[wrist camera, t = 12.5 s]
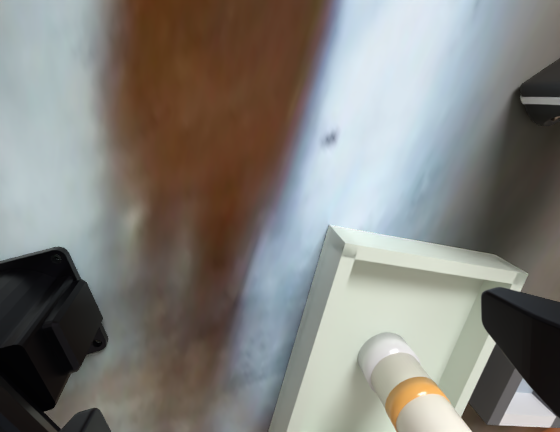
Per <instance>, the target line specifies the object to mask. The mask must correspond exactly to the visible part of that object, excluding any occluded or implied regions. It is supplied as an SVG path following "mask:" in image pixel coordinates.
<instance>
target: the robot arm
mask: <svg viewBox="0 0 560 432" xmlns="http://www.w3.org/2000/svg"><path fill="white" fill-rule="evenodd" d="M54 254H58V255H60V256H61V258H62V260H58V259H56V258H55V257H54ZM102 319H103V317H102V315H101V313H100V311H99V308H98V306H97V304H96V302H95V300H94V298H93V295H92V293H91V291H90V289H89V287H88V284H87V282H85V281H84V280H82V279H81V278H80V276H79V274H78V271H77V269H76V267H75V265H74V263H73V261H72V259H71V256H70V254H69V252H68V251H67V250H66V249H64V248H62V247H53V248H50V249H46V250H42V251H38V252H34V253H30V254H26V255H22V256H18V257H15V258H11V259H7V260H3V261H0V432H111V430H110V429H109V427H108V425H107V423H106V421H105V419H104V417H103V415H102V413H101V411H100V410H99V409H97V408H92V409H88V410H85V411H82V412H79V413H77V414H75V415H74V416H73V417H72V418H71V420H70V421H69V422H68V423H67V424H66V425H65V426H64V427H63V428H62V429H60V428H59V427H58V426H57V425H56V424H55V423H54V422H53V421H52V420H51V419H50V418H49V417H48V416H47V415H46V414H45V413H44V411H47V410H51V409H53V408H54V407H55V405H56V403H57V401H58V399H59V397H60V395H61V393H62V391H63V389H64V387H65V385H66V383H67V381H68V378H69V376H70V374H71V373H74V372H77V371H78V370H79V368H80V367H81V365H82V363H83V360H84V358H85V356H86V354H89V353H93V352H96V351H100V350H102V349H104V348H105V347H106V344H107V342H108V336H107V334H106V332H105V330H104V328H103V325H102V323H101V322H102ZM481 320H482V324H483V326H484V328H485V330H486V331H487V333H488V334H489V335H490V336H491V338H492V339H493V340H494V342H495V343H496V344H497V345H498V347H499V348H500V349H501V351H502V352H503V353H504V354H505V356H506V357H507V358H508V360H509V361H510V362H511V363H512V365H513V366H514V367H515V369H516V370H517V371H518V372H519V374H520V375H521V376H522V378H523V379H524V380H525V381H526V382H527V384H528V385H529V386H530V387H531V388H532V389H533V390H534V392H535V393H536V394H537V395H538V396H539V397H540V398H541V399H542V400H543V401H544V402H545V403H546V405H547V406H548V407H549V408H550V409H551V410H552V411H553V412H554V413H555V414H556V415H557V416H558V417H559V418H560V302H557V301H553V300H549V299H545V298H542V297H538V296H534V295H530V294H526V293H522V292H519V291H515V290H511V289H507V288H503V287H495V288H492V289H488V290H485V291H484V292H482V294H481ZM95 340H100V341H101V343H97V342H95Z"/></svg>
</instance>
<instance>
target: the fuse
mask: <svg viewBox="0 0 560 432" xmlns="http://www.w3.org/2000/svg"><path fill="white" fill-rule="evenodd" d="M358 365H359V367H360V369H361V371H362V373H363V375H364V376H365V378H366V380H367V382H368V384H369V386H370V387H371V389H372V390H373V391H374V392H375V393H377V395H378V397H379V399H380V401H381V402H382V404H383V406H384V408H385V410H386V413H387V415H388V417H389V419H390V421H391V422H392V424H393V426H394V428H395V430H396V432H472V431H471V430H470V428H469V427H468V426H467V425H466V423H465V422H464V421H463V419H462V418H461V417H460V415H459V414H458V413H457V412H456V410H455V409H454V408H453V406H452V405H451V403H450V401H449V400H448V398H447V397H446V396H445V394H444V393H443V392H442V391H441V389H440V388H439V387H438V385H437V384H436V383H435V382H434V381H433V380H432V379H431V378H430V376H429V375H428V374H427V373H426V371H425V370H424V369H423V367H422V366H421V363H420V360H419V358H418V357H417V356H416V354H415V353H414V352H413V350H412V349H411V348H410V347H409V345H408V344H407V343H406V342H405V340H404V339H403V338H402V337H401V336H400V335H398V334H396V333H391V332H385V333H380V334H377V335H375V336H373V337H371V338H370V339H368V340H367V341H366V342H365V343H364V344H363V346H362V347H361V349H360V351H359V353H358Z"/></svg>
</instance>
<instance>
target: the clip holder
mask: <svg viewBox="0 0 560 432" xmlns="http://www.w3.org/2000/svg"><path fill="white" fill-rule="evenodd" d="M468 402H469V404H470V405H471V406H472V407H473V408H474V410H475V411H476V412H477V413H478V414H479V416H480V417H481V418H482V419H483V420H484V422H485V423H486V424H487V425H505V426H529V427H552V428H560V418H559V417H558V416H557V415H556V414H555V413H554V412H553V411H552V410H551V409H550V408H549V407H548V406H547V405H546V403H545V402H544V401H543V400H542V399H541V398H540V397H539V396H538V395H537V394H536V393H535V392H534V390H533V389H532V388H531V387H530V386H529V385H528V384H527V382H526V381H525V380H524V379H523V378H522V376H521V375H520V374H519V372H518V371H517V370H516V369H515V367H514V366H513V365H512V363H511V362H510V361H509V360H508V358H507V357H506V356H505V354H504V353H503V352H502V351H501V349H500V348H499V347H498V345H497V344H495V346H494V348H493V350H492V352H491V355H490V357H489V359H488V361H487V363H486V365H485V367H484V369H483V371H482V374H481V376H480V378H479V380H478V382H477V384H476V386H475V388H474V391H473V393H472V395H471V397H470V399H469V401H468Z"/></svg>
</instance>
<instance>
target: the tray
mask: <svg viewBox="0 0 560 432" xmlns="http://www.w3.org/2000/svg"><path fill="white" fill-rule="evenodd" d="M527 276H528V273H526V272H524V271H523V270H521V269H519V268H518V267H516V266H514V265H512V264H511V263H509V262H507V261H505V260H504V259H502V258H500V257H499V256H497V255H495V254H490V253H484V252H479V251H473V250H467V249H462V248H456V247H451V246H445V245H440V244H434V243H428V242H423V241H417V240H412V239H406V238H401V237H395V236H389V235H384V234H378V233H373V232H367V231H362V230H356V229H350V228H345V227H339V226H334V225H329V227H328V230H327V234H326V237H325V241H324V244H323V247H322V251H321V254H320V258H319V261H318V264H317V268H316V271H315V275H314V278H313V281H312V285H311V288H310V292H309V295H308V298H307V302H306V305H305V309H304V312H303V315H302V319H301V322H300V326H299V329H298V332H297V336H296V339H295V342H294V346H293V349H292V353H291V356H290V359H289V363H288V366H287V370H286V373H285V376H284V380H283V383H282V387H281V390H280V393H279V397H278V400H277V404H276V407H275V410H274V414H273V417H272V421H271V424H270V427H269V431H268V432H396V430H395V428H394V426H393V424H392V422H391V421H390V419H389V417H388V415H387V413H386V410H385V408H384V406H383V404H382V402H381V401H380V399H379V397H378V395H377V393H375V392H374V391H373V390H372V389H371V387H370V386H369V384H368V382H367V380H366V378H365V376H364V375H363V373H362V371H361V369H360V367H359V365H358V353H359V351H360V349H361V347H362V346H363V344H364V343H365V342H366V341H367V340H368V339H370V338H371V337H373V336H375V335H377V334H380V333H385V332H391V333H396V334H398V335H400V336H401V337H402V338H403V339H404V340H405V342H406V343H407V344H408V345H409V347H410V348H411V349H412V350H413V352H414V353H415V354H416V356H417V357H418V358H419V360H420V363H421V366H422V367H423V369H424V370H425V371H426V373H427V374H428V375H429V376H430V378H431V379H432V380H433V381H434V382H435V383H436V384H437V385H438V387H439V388H440V389H441V391H442V392H443V393H444V394H445V396H446V397H447V398H448V400H449V401H450V403H451V405H452V406H453V408H454V409H455V410H456V412H457V413H458V414H459V415H460V417H461V416H462V414H463V412H464V410H465V407H466V405H467V403H468V401H469V399H470V397H471V395H472V393H473V391H474V388H475V386H476V384H477V382H478V380H479V378H480V376H481V374H482V371H483V369H484V367H485V365H486V363H487V361H488V359H489V357H490V355H491V352H492V350H493V348H494V346H495V344H496V343H495V342H494V340H493V339H492V338H491V336H490V335H489V334H488V333H487V331H486V330H485V328H484V326H483V324H482V320H481V294H482V292H484V291H485V290H488V289H492V288H495V287H503V288H507V289H511V290H515V291H519V292H520V291H521V289H522V287H523V285H524V283H525V280H526V278H527Z"/></svg>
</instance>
